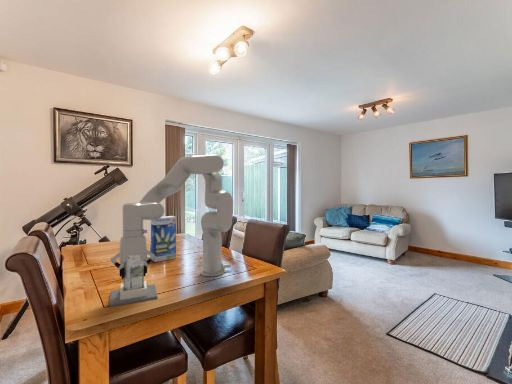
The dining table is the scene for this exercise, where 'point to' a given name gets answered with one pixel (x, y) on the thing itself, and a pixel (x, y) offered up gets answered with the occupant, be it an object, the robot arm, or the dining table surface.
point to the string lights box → (163, 238)
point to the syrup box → (133, 273)
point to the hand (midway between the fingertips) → (133, 276)
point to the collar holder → (132, 295)
